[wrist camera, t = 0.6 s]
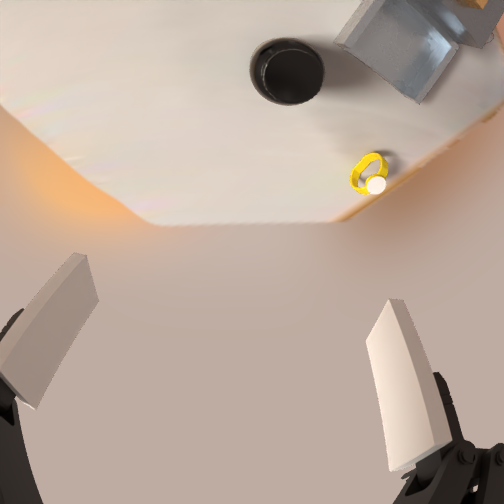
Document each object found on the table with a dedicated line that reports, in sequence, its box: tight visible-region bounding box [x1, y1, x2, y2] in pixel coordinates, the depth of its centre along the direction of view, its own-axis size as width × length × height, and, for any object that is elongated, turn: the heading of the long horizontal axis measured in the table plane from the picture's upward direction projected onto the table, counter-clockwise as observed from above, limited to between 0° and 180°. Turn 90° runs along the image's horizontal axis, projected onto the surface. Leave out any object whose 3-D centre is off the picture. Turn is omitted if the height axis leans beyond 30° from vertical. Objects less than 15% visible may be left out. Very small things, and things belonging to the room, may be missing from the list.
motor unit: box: [333, 0, 504, 105], centre depth 16 cm, size 14×21×11 cm, turn 153°
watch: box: [350, 152, 388, 195], centre depth 34 cm, size 6×3×6 cm, turn 147°
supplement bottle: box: [250, 38, 325, 106], centre depth 22 cm, size 7×7×12 cm
